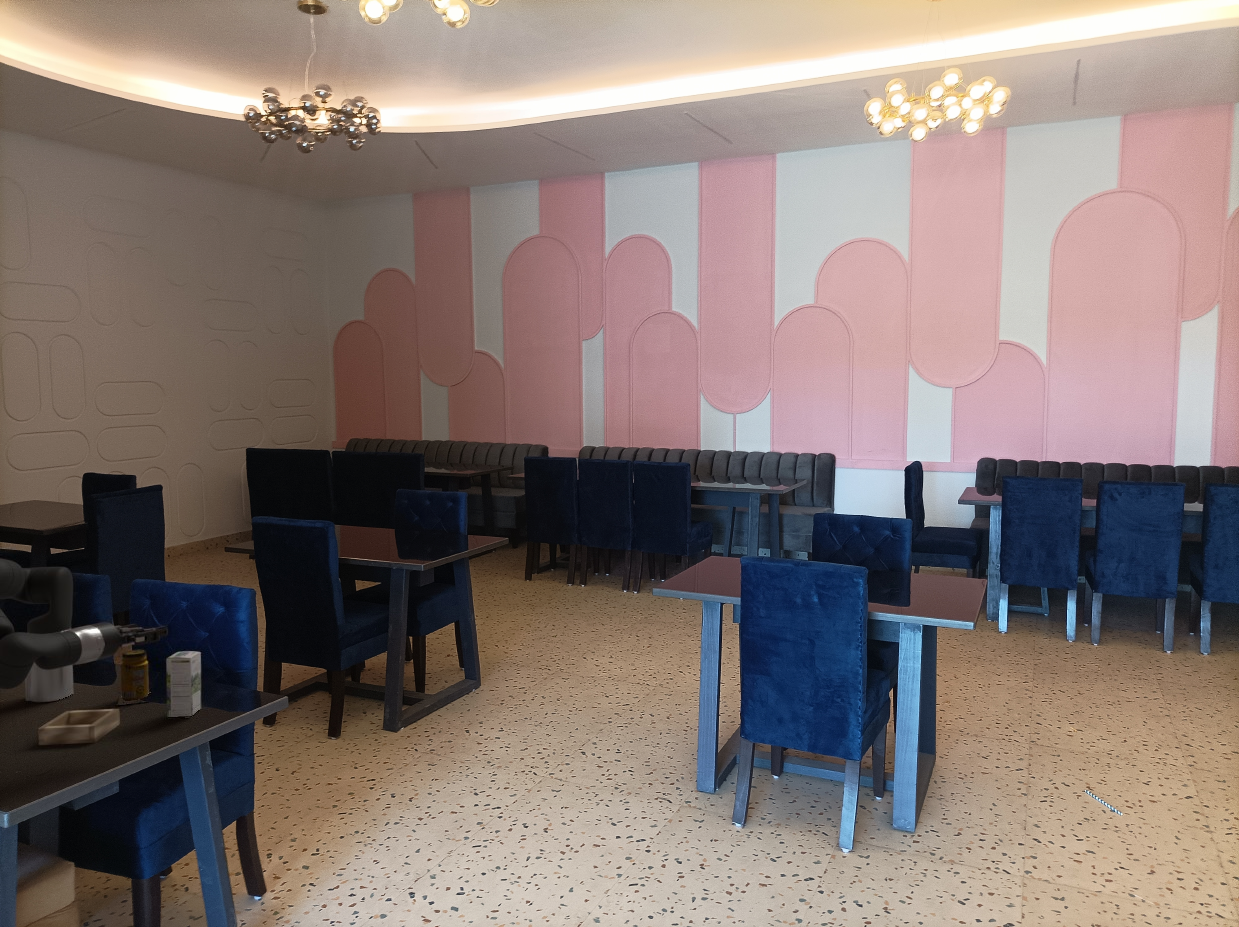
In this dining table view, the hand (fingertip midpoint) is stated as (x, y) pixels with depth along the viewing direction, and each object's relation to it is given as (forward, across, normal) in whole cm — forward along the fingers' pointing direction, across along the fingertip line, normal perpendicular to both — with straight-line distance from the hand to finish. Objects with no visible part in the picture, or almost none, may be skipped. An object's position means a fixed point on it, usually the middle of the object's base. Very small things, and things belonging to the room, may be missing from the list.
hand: (151, 629), depth 192 cm
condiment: (+15, -21, -22) cm, 34 cm away
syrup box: (+10, 0, -22) cm, 24 cm away
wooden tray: (-7, -12, -23) cm, 27 cm away
